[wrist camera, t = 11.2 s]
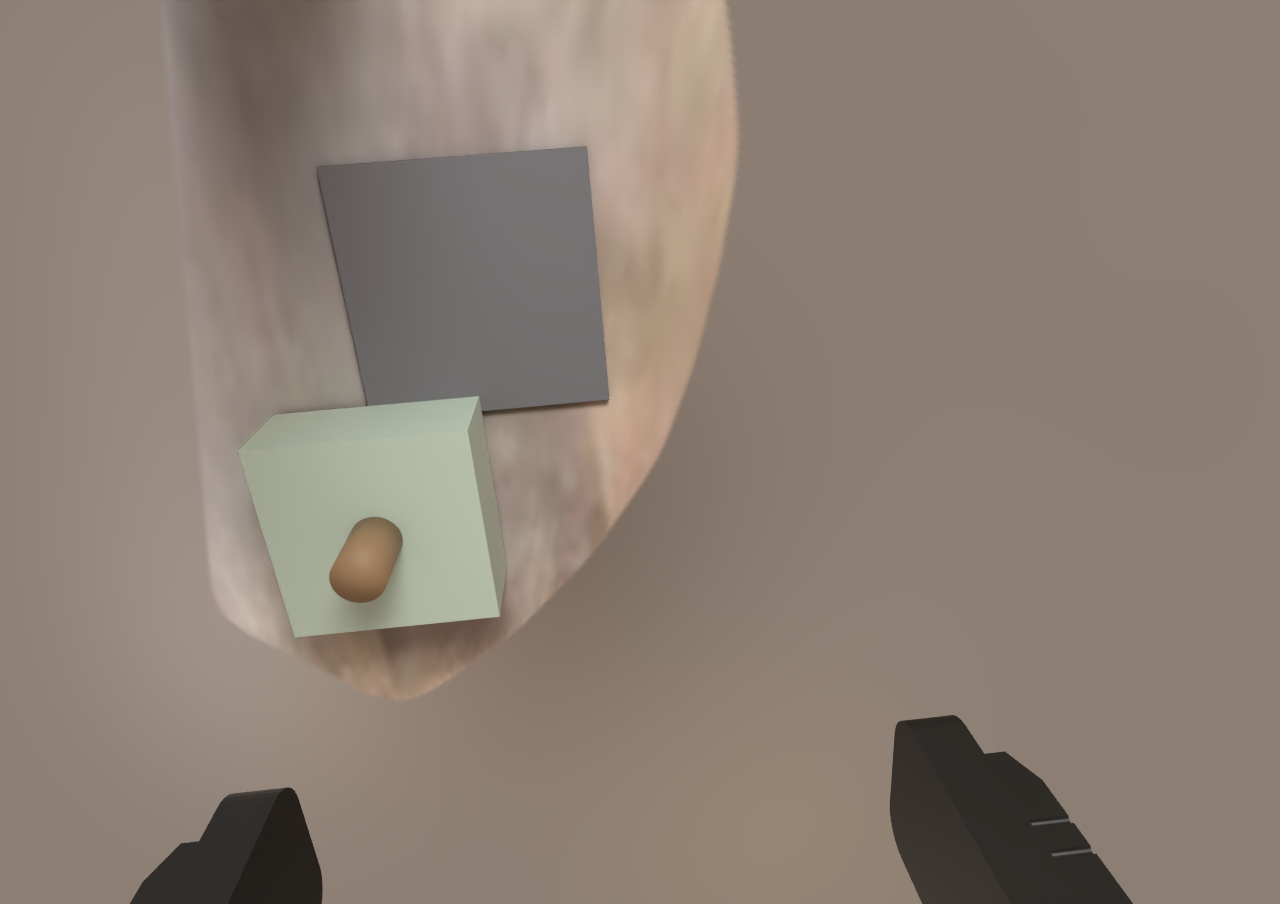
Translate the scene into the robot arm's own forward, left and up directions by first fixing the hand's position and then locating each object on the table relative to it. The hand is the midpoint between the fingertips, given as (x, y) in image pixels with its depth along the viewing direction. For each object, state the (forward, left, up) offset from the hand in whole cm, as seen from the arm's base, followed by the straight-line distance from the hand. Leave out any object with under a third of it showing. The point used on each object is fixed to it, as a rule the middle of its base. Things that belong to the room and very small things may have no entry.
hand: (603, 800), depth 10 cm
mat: (-1, -6, -36) cm, 37 cm away
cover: (+11, -12, -36) cm, 40 cm away
